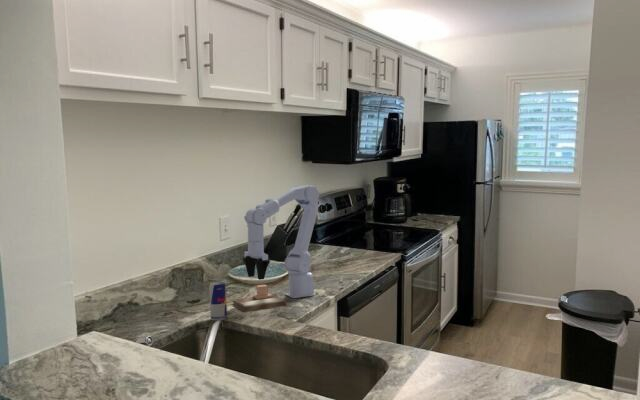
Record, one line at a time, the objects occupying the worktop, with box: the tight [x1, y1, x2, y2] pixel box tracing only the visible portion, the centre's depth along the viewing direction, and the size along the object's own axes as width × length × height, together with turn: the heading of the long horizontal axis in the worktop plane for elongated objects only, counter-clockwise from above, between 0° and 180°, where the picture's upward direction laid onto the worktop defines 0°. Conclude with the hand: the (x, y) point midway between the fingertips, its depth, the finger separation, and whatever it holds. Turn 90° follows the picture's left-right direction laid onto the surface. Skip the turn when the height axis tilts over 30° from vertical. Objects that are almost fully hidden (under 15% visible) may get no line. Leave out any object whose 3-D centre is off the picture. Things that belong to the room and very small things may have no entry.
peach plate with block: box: [252, 284, 272, 299], centre depth 186 cm, size 6×5×4 cm
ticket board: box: [232, 293, 287, 312], centre depth 182 cm, size 16×14×2 cm
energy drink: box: [208, 281, 228, 322], centre depth 164 cm, size 5×5×12 cm
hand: (256, 277), depth 181 cm, fingers open, 7 cm apart
